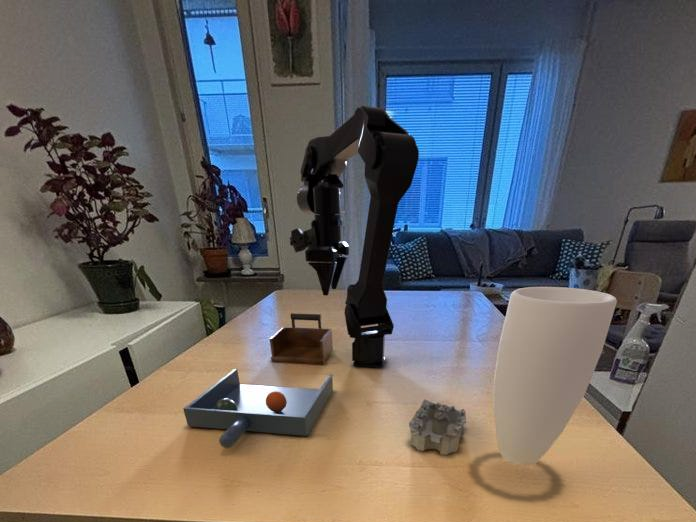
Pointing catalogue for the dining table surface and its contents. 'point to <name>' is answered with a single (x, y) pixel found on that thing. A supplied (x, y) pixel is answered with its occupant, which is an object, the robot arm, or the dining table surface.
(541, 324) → the cup
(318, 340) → the basket
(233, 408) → the green ball
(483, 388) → the dining table surface
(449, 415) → the grey castle model
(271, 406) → the terracotta ball
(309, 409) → the dustpan
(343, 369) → the dining table surface
